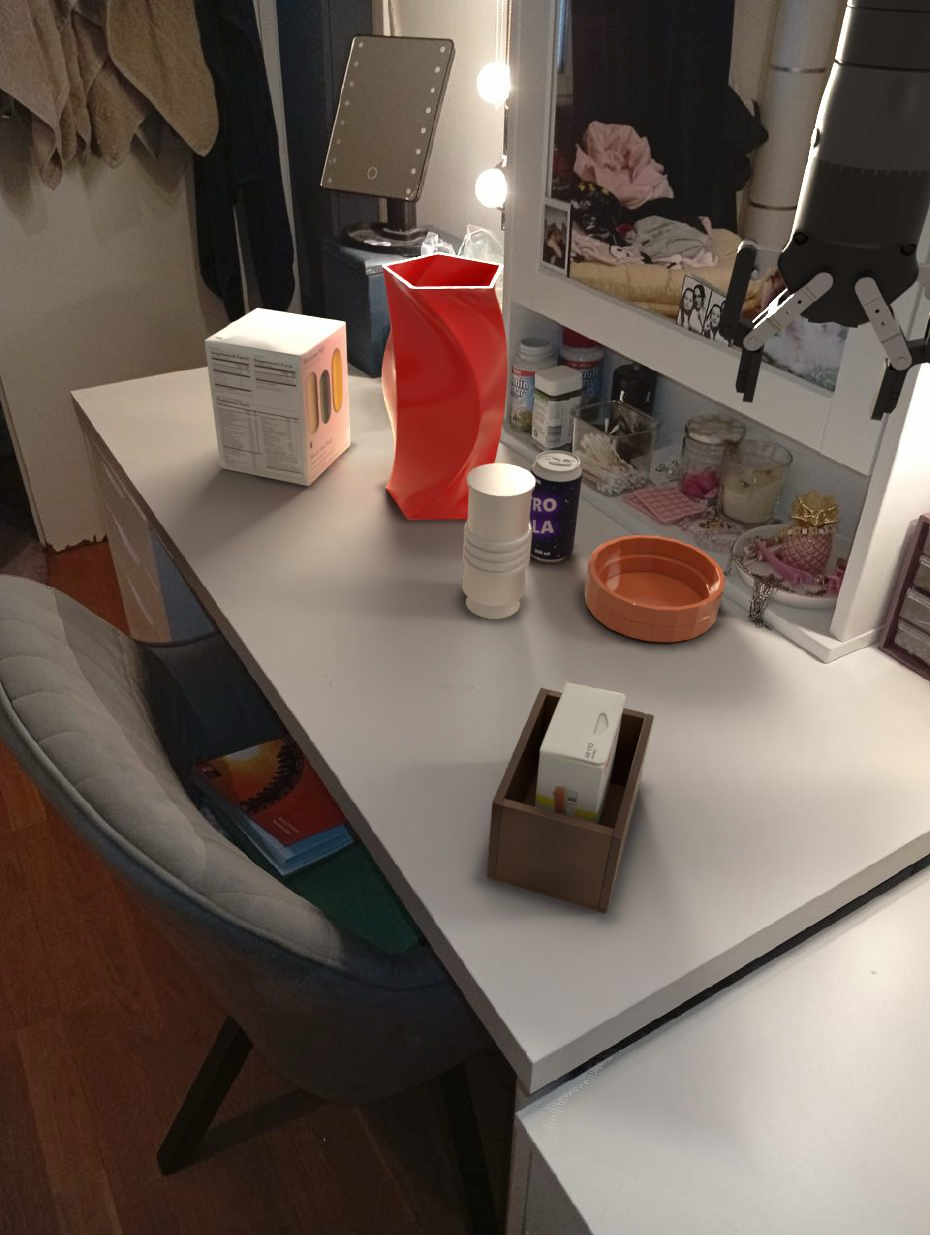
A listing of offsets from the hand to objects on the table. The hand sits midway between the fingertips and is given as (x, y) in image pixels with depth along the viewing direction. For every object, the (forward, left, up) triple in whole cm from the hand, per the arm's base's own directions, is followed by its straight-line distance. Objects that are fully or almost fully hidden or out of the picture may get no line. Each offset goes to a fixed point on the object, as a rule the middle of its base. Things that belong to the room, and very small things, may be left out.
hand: (810, 407), depth 65 cm
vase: (+40, -33, -33) cm, 61 cm away
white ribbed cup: (+26, -13, -33) cm, 43 cm away
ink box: (+10, +15, -32) cm, 37 cm away
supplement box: (+62, -35, -33) cm, 78 cm away
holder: (+11, +15, -32) cm, 37 cm away
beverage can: (+23, -25, -33) cm, 47 cm away
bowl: (+10, -19, -32) cm, 39 cm away
